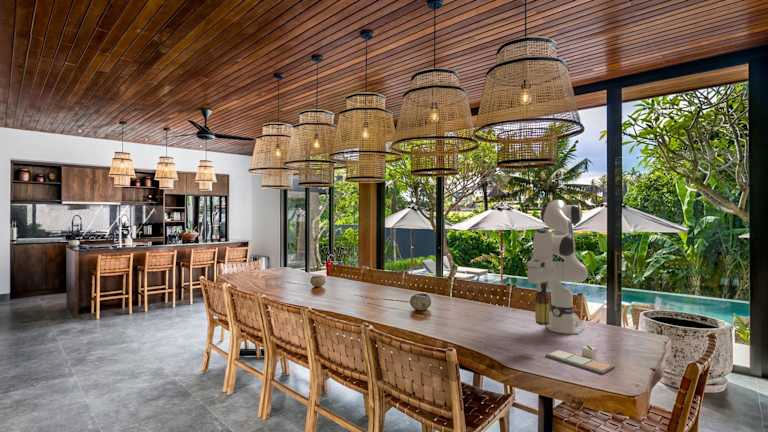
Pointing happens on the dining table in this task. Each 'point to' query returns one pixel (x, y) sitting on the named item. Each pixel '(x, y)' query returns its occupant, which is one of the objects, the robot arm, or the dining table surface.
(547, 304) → the sauce bottle
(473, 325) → the dining table surface
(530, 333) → the dining table surface
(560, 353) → the game strip
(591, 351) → the pale notched block
